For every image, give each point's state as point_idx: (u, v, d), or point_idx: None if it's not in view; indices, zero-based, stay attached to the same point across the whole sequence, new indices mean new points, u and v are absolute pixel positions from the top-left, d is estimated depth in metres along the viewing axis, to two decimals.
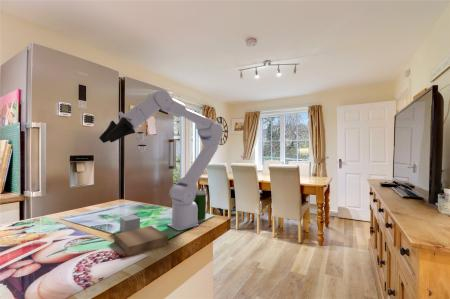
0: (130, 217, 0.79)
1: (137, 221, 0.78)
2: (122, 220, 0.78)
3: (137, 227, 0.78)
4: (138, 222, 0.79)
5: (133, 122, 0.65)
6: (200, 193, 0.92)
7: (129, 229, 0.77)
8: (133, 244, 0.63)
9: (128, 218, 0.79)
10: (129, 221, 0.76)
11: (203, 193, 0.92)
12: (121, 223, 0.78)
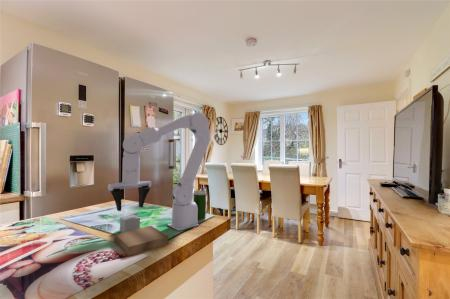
0: (130, 217, 0.79)
1: (137, 221, 0.78)
2: (122, 220, 0.78)
3: (137, 227, 0.78)
4: (138, 222, 0.79)
5: (108, 188, 0.74)
6: (200, 193, 0.92)
7: (129, 229, 0.77)
8: (133, 244, 0.63)
9: (128, 218, 0.79)
10: (129, 221, 0.76)
11: (203, 193, 0.92)
12: (121, 223, 0.78)
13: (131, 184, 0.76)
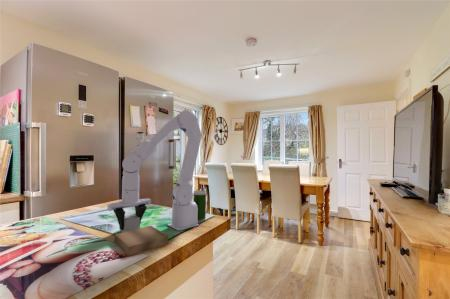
0: (130, 217, 0.79)
1: (137, 221, 0.78)
2: None
3: (137, 227, 0.78)
4: (138, 222, 0.79)
5: (108, 208, 0.74)
6: (200, 193, 0.92)
7: (129, 229, 0.77)
8: (133, 244, 0.63)
9: (128, 217, 0.79)
10: (129, 221, 0.76)
11: (203, 193, 0.92)
12: None
13: (131, 203, 0.76)
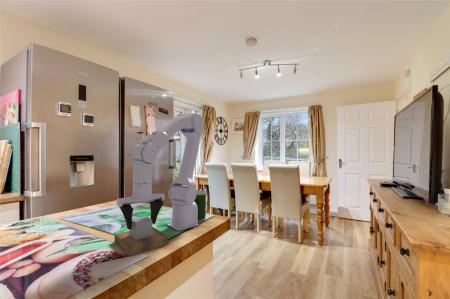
0: (141, 219, 0.70)
1: (149, 224, 0.69)
2: (132, 222, 0.68)
3: (149, 230, 0.69)
4: (150, 225, 0.69)
5: (117, 204, 0.65)
6: (200, 193, 0.92)
7: (140, 233, 0.67)
8: (133, 244, 0.63)
9: (139, 220, 0.69)
10: (140, 223, 0.67)
11: (203, 193, 0.92)
12: None
13: (143, 199, 0.67)
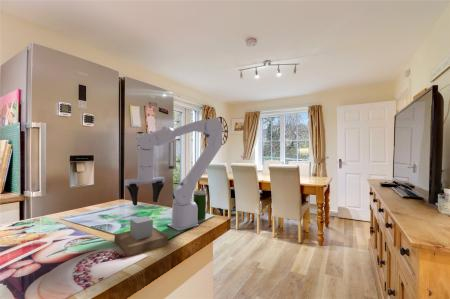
0: (142, 219, 0.70)
1: (149, 224, 0.69)
2: (133, 222, 0.68)
3: (150, 230, 0.69)
4: (151, 224, 0.69)
5: (125, 184, 0.77)
6: (200, 193, 0.92)
7: (141, 232, 0.67)
8: (133, 244, 0.63)
9: (140, 219, 0.69)
10: (141, 223, 0.67)
11: (203, 193, 0.92)
12: (131, 226, 0.69)
13: (146, 179, 0.79)
